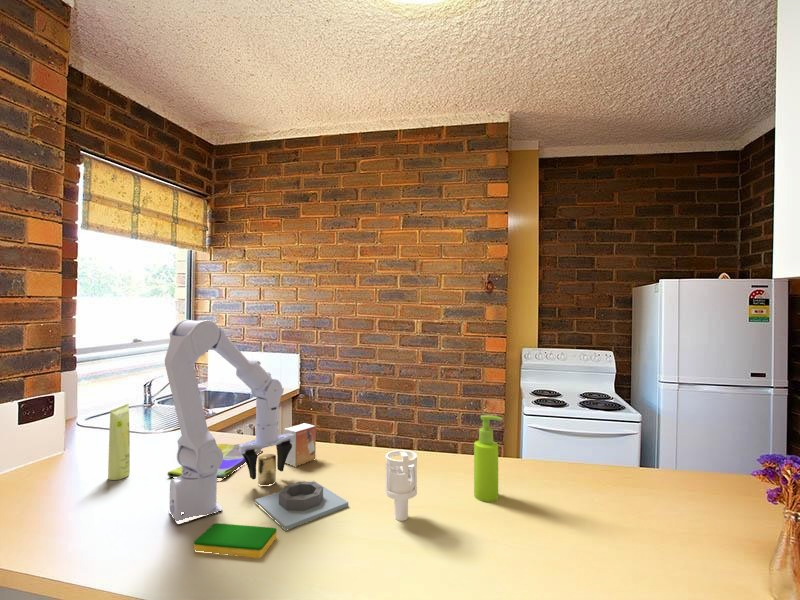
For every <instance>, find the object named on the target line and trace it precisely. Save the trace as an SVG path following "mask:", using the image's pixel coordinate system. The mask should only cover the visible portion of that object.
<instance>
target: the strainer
mask: <svg viewBox="0 0 800 600" xmlns="http://www.w3.org/2000/svg"><path fill="white" fill-rule="evenodd" d="M395 456H401V460H400V459H399V460H398V459H393V457H395ZM409 457H410V459H409ZM417 463H418V454H417V453H416V452H415V451H411V450H407V449H396V450H395V449H394V450H391V451H388V452H386V454H385V495H386V496H387V498H390V499H392V500H394V502H393V503H394V508H393V509H394V513H393V514H394V516H393V518H394V519H395V521H398V522H399V521H400V522H403V521H406V520H408V519H409V500H411V499H413V498H415V497H416V496H417V494H418V487H417V486H418V483H417V482H418V481H417V480H418V475H417V473H418V469H417V468H418V464H417Z"/></svg>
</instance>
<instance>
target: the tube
mask: <svg viewBox="0 0 800 600" xmlns="http://www.w3.org/2000/svg"><path fill="white" fill-rule="evenodd" d="M129 407H130V406H129V403H128V402H127V403H126V404H123V405H121V406H118V407H116V408H113V409H111V410H110V415H109V434H108V435H109V438H108V462H107V464H108V466H107V467H108V468H107V469H108V470H107V479H108V480H111V481H118V480H121V479H125V478H126V477H127V478H128V476H130V471H131V470H130V466H131V462H130V461H131V459H130V457H131V455H130V453H131V452H130V451H131V450H130V449H131V448H130V446H131V445H130V443H131V441H130V438H131V436H130V434H131V433H130V409H129Z"/></svg>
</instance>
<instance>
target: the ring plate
mask: <svg viewBox="0 0 800 600" xmlns="http://www.w3.org/2000/svg"><path fill="white" fill-rule="evenodd" d="M255 502H256V503H257V504H258V505H260V506H261V507H262V508H263V509H264V510H265V511H266V512H267V513H268V514H269V515H270V516H271V517H272V518H273V519H274V520H276V521H277V522H278V523H279V524H280V525H281V526H282V527H283V528H284V529H285V530H287V529H290V528H292V529H294V528H293V527H295V526H297V527H299V526H298V525H300V524H302V525H304V524H303V523H305V524H307V523H309V522H308V521H310V522H312V521H311V520H313V521H315V520H317V519H316V518H318V519H320V518H322V516H323V517H325V516H328V515H330V514H333V513H335V512H338V511H340V510H343V509H345V508H347V507H349V501H347V500H346V499H344V498H343V497H341V496H339V495H337V494H336V493H334V492H333V491H332V490H329V489H328V488H326V486H323V485H322V484H320V483H318V482H317V481H315V480H312V481H296V482H294V483H289V484H287V485H284V486H283V487H282V488H281V490H280V491H277V492H274V493H270V494H268V495H265V496H261V497H258V498H255V499H254V503H255ZM319 517H320V518H319ZM314 519H315V520H314ZM274 520H273V521H274ZM306 522H307V523H306ZM300 526H301V525H300ZM295 528H296V527H295ZM284 529H283V530H284ZM285 530H284V531H285ZM290 530H291V529H290ZM287 531H288V530H287Z"/></svg>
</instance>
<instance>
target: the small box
mask: <svg viewBox="0 0 800 600" xmlns="http://www.w3.org/2000/svg"><path fill="white" fill-rule="evenodd" d="M316 429H317V426H316V425H313V424H311V423H310V424H309V423H307V422H306V423H305V422H304V423H300V424H297V425H294V426H290V427H285V428H284V429H283V432H284V433H283V434H289V433H291V434H293V435H294V442H290V443H291V444H292V448H291V450H290V452H289V454H288V456H287V459H286V462H285V463H288V464H290V465H289V466H291V465H293V466H292V467H294V466H297V467H299V466H301V464H302V465H304V464H307V463H309V462H308V461H310V462H312V461H311V460H314V459H315V460H316V445H317V444H316V442H317V439H316V435H317V434H316V432H317V430H316ZM315 460H314V461H315ZM306 462H307V463H306ZM303 463H304V464H303ZM288 464H287V465H288ZM298 465H299V466H298Z"/></svg>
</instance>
